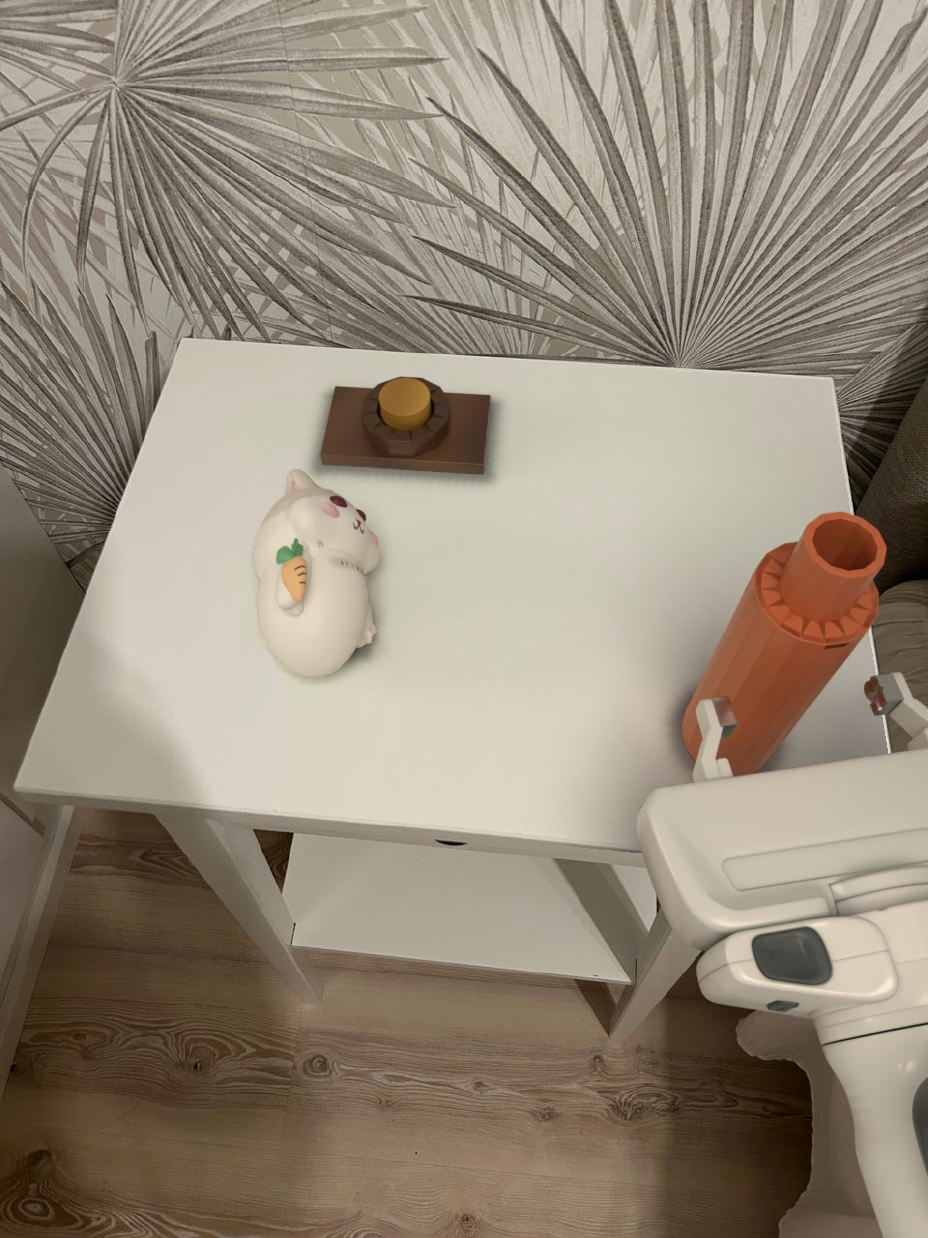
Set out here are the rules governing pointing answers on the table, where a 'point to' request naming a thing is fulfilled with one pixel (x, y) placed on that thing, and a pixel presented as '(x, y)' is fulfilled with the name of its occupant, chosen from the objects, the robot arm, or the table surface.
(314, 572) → the cat figurine
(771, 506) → the table surface
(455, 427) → the brown button base
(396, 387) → the button
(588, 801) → the table surface
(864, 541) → the orange bottle
